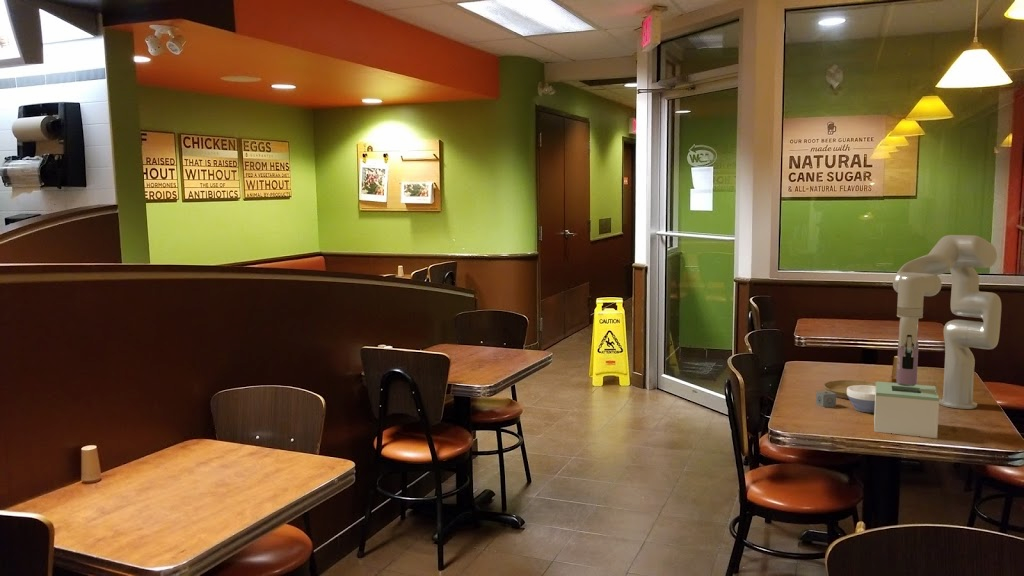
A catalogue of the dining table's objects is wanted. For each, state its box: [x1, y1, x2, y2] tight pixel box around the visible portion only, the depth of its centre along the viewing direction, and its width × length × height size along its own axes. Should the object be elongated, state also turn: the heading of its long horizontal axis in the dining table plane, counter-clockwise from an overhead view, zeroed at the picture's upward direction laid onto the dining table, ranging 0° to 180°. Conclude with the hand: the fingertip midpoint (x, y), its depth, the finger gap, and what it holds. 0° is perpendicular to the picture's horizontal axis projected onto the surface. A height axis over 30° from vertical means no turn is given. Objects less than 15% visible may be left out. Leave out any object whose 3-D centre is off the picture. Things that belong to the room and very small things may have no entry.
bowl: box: [847, 385, 876, 414], centre depth 280 cm, size 14×14×8 cm
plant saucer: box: [823, 379, 876, 400], centre depth 304 cm, size 24×24×3 cm
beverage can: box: [895, 339, 920, 386], centre depth 256 cm, size 6×6×15 cm
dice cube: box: [815, 390, 837, 408], centre depth 287 cm, size 5×5×5 cm
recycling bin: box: [873, 380, 940, 439], centre depth 257 cm, size 18×18×13 cm
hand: (907, 366), depth 256 cm, fingers closed on beverage can, 6 cm apart
